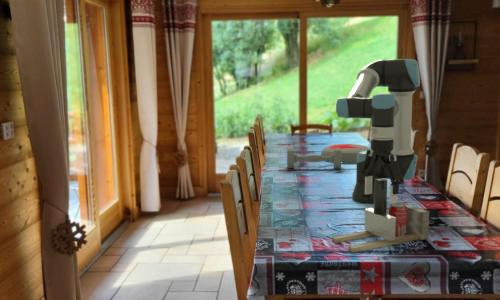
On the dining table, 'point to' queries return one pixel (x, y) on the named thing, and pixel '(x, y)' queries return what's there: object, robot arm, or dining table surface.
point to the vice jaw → (380, 213)
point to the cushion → (345, 151)
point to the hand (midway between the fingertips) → (380, 198)
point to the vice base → (414, 227)
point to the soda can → (399, 218)
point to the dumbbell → (314, 158)
